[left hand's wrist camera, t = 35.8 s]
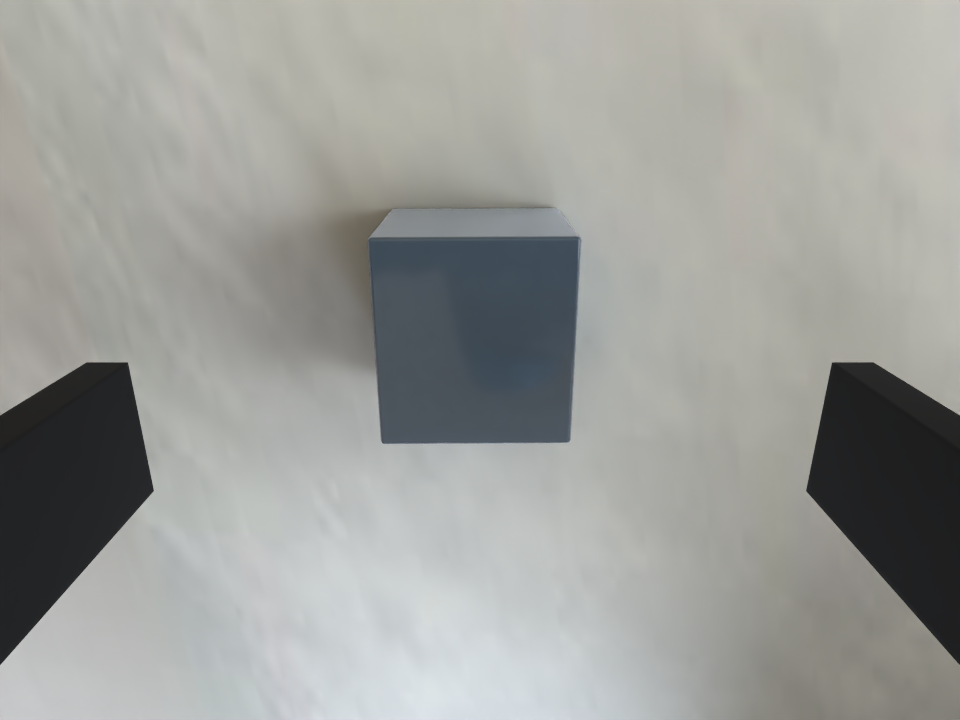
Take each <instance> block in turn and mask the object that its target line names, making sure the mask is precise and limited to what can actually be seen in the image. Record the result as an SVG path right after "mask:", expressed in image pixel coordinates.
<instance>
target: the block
mask: <svg viewBox="0 0 960 720" xmlns="http://www.w3.org/2000/svg"><path fill="white" fill-rule="evenodd" d="M580 253H581V238H580V236H579V235H578V234H577V232H576V231H575V230H574V229H573V227H572V226H571V225H570V223H569V222H568V221H567V220H566V218H565V217H564V216H563V215H562V213H561V212H560V211H559V209H557V208H442V209H392V210H391V211H390V212H389V214H388V215H387V216H386V217H385V218H384V220H383V221H382V222H381V223H380V225H379V226H378V227H377V228H376V229H375V231H374V232H373V233H372V234H371V236H370V237H369V238H368V256H369V271H370V285H371V300H372V315H373V330H374V344H375V359H376V374H377V389H378V404H379V418H380V433H381V442H382V443H383V444H434V443H568V442H569V441H570V438H571V419H572V401H573V382H574V364H575V345H576V327H577V308H578V290H579V271H580Z"/></svg>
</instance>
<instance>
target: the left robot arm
mask: <svg viewBox="0 0 960 720" xmlns="http://www.w3.org/2000/svg"><path fill="white" fill-rule="evenodd" d="M153 491H154V490H153V485H152V480H151V475H150V470H149V465H148V460H147V455H146V450H145V445H144V440H143V435H142V430H141V425H140V420H139V415H138V410H137V405H136V400H135V395H134V391H133V386H132V381H131V376H130V371H129V366H128V363H85V364H84V365H82V366H80V367H79V368H77V369H75V370H74V371H72V372H70V373H69V374H67V375H66V376H64V377H62V378H61V379H59V380H57V381H56V382H54V383H53V384H51V385H49V386H48V387H46V388H44V389H43V390H41V391H40V392H38V393H36V394H35V395H33V396H31V397H30V398H28V399H26V400H25V401H23V402H22V403H20V404H18V405H17V406H15V407H13V408H12V409H10V410H9V411H7V412H5V413H4V414H2V415H0V665H1V663H2V662H3V661H4V660H5V659H6V658H7V657H8V655H9V654H10V653H11V652H12V651H13V650H14V649H15V648H16V646H17V645H18V644H19V643H20V642H21V641H22V640H23V638H24V637H25V636H26V635H27V634H28V633H29V632H30V631H31V629H32V628H33V627H34V626H35V625H36V624H37V623H38V622H39V620H40V619H41V618H42V617H43V616H44V615H45V614H46V612H47V611H48V610H49V609H50V608H51V607H52V606H53V605H54V603H55V602H56V601H57V600H58V599H59V598H60V597H61V595H62V594H63V593H64V592H65V591H66V590H67V589H68V588H69V586H70V585H71V584H72V583H73V582H74V581H75V580H76V578H77V577H78V576H79V575H80V574H81V573H82V572H83V571H84V569H85V568H86V567H87V566H88V565H89V564H90V563H91V561H92V560H93V559H94V558H95V557H96V556H97V555H98V554H99V552H100V551H101V550H102V549H103V548H104V547H105V546H106V544H107V543H108V542H109V541H110V540H111V539H112V538H113V537H114V535H115V534H116V533H117V532H118V531H119V530H120V529H121V527H122V526H123V525H124V524H125V523H126V522H127V521H128V520H129V518H130V517H131V516H132V515H133V514H134V513H135V512H136V510H137V509H138V508H139V507H140V506H141V505H142V504H143V503H144V501H145V500H146V499H147V498H148V497H149V496H150V495H151V493H152V492H153ZM806 491H807V492H808V493H809V495H810V496H811V497H812V498H813V499H814V500H815V501H816V503H817V504H818V505H819V506H820V507H821V508H822V509H823V510H824V512H825V513H826V514H827V515H828V516H829V517H830V518H831V520H832V521H833V522H834V523H835V524H836V525H837V526H838V527H839V529H840V530H841V531H842V532H843V533H844V534H845V535H846V537H847V538H848V539H849V540H850V541H851V542H852V543H853V544H854V546H855V547H856V548H857V549H858V550H859V551H860V552H861V554H862V555H863V556H864V557H865V558H866V559H867V560H868V561H869V563H870V564H871V565H872V566H873V567H874V568H875V569H876V571H877V572H878V573H879V574H880V575H881V576H882V577H883V578H884V580H885V581H886V582H887V583H888V584H889V585H890V586H891V588H892V589H893V590H894V591H895V592H896V593H897V594H898V595H899V597H900V598H901V599H902V600H903V601H904V602H905V603H906V605H907V606H908V607H909V608H910V609H911V610H912V611H913V612H914V614H915V615H916V616H917V617H918V618H919V619H920V620H921V622H922V623H923V624H924V625H925V626H926V627H927V628H928V629H929V631H930V632H931V633H932V634H933V635H934V636H935V637H936V638H937V640H938V641H939V642H940V643H941V644H942V645H943V646H944V648H945V649H946V650H947V651H948V652H949V653H950V654H951V655H952V657H953V658H954V659H955V660H956V661H957V662H958V663H959V665H960V415H958V414H956V413H955V412H953V411H951V410H950V409H948V408H947V407H945V406H943V405H942V404H940V403H938V402H937V401H935V400H934V399H932V398H930V397H929V396H927V395H925V394H924V393H922V392H920V391H919V390H917V389H916V388H914V387H912V386H911V385H909V384H907V383H906V382H904V381H903V380H901V379H899V378H898V377H896V376H894V375H893V374H891V373H890V372H888V371H886V370H885V369H883V368H881V367H880V366H878V365H876V364H875V363H832V366H831V371H830V376H829V381H828V386H827V391H826V395H825V400H824V405H823V410H822V415H821V420H820V425H819V430H818V435H817V440H816V445H815V450H814V455H813V460H812V465H811V470H810V475H809V480H808V485H807V490H806Z"/></svg>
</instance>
